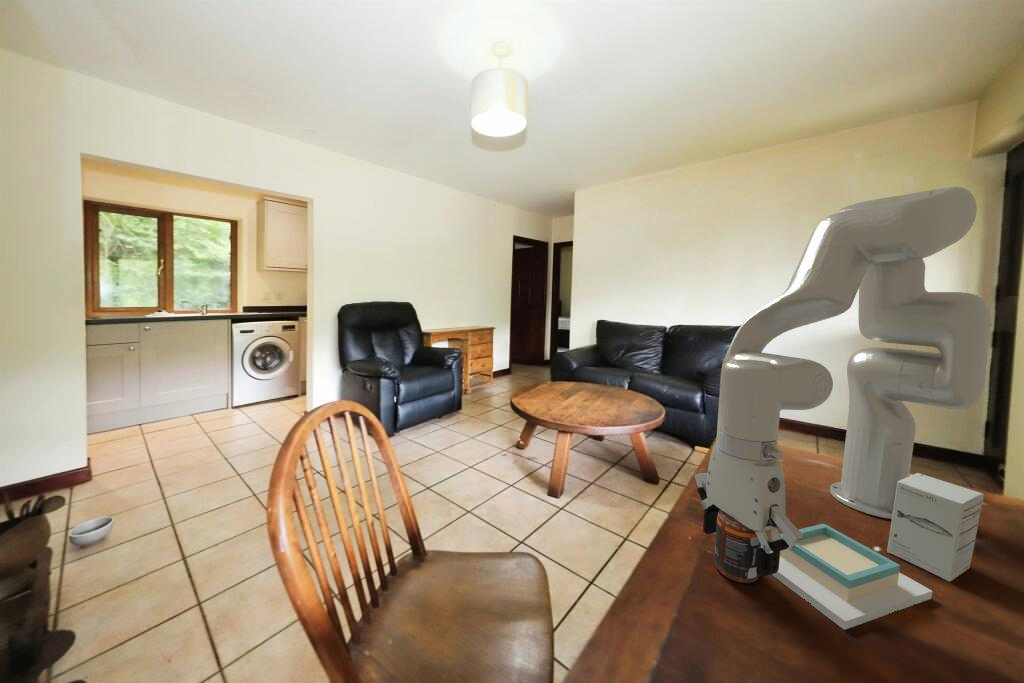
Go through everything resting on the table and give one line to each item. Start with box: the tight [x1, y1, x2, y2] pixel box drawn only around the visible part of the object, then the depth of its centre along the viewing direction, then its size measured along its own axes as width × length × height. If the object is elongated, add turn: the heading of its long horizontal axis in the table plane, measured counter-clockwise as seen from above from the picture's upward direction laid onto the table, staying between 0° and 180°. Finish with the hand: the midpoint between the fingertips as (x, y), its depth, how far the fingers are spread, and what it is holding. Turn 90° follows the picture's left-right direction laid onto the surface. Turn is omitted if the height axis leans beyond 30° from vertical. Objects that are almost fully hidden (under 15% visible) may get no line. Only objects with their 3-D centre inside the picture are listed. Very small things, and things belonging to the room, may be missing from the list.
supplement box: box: [886, 472, 985, 583], centre depth 59 cm, size 7×7×13 cm
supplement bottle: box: [713, 509, 762, 584], centre depth 57 cm, size 6×6×11 cm
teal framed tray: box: [761, 523, 933, 631], centre depth 56 cm, size 17×14×4 cm
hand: (737, 550), depth 57 cm, fingers open, 9 cm apart
